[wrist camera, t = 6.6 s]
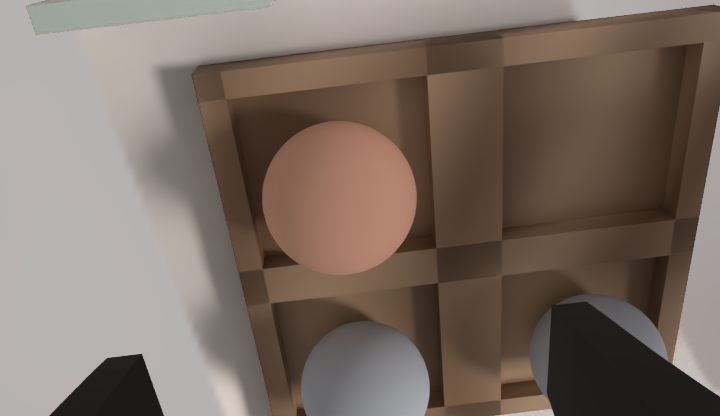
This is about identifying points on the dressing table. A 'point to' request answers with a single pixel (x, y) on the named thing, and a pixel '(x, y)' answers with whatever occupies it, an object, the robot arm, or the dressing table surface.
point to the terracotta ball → (339, 198)
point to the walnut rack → (482, 189)
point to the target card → (125, 12)
